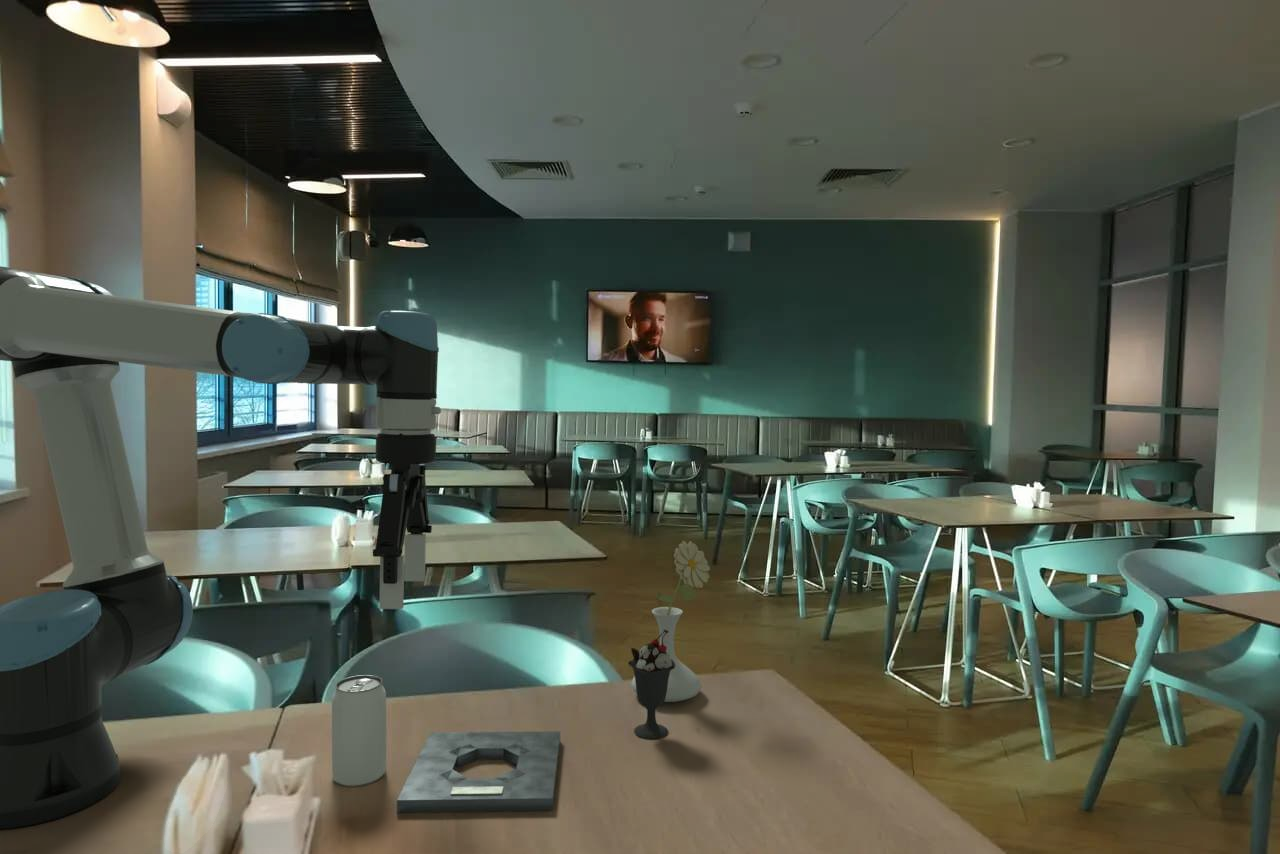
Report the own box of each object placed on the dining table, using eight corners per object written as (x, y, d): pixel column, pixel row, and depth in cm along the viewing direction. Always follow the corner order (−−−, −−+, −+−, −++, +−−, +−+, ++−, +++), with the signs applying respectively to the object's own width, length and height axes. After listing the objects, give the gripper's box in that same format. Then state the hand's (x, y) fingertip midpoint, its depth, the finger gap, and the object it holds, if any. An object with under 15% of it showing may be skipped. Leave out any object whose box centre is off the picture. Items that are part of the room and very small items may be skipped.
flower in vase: (651, 714, 120) (654, 552, 119) (619, 688, 130) (620, 538, 129) (723, 699, 126) (726, 545, 125) (686, 676, 136) (689, 533, 135)
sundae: (683, 734, 113) (685, 631, 112) (645, 746, 109) (646, 639, 109) (657, 718, 119) (658, 620, 118) (619, 728, 115) (620, 627, 114)
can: (394, 765, 103) (394, 674, 102) (372, 790, 97) (372, 694, 96) (347, 762, 104) (346, 672, 103) (322, 786, 97) (321, 691, 97)
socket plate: (396, 812, 91) (396, 798, 91) (430, 742, 109) (430, 731, 109) (552, 810, 92) (552, 796, 92) (560, 741, 110) (560, 729, 110)
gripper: (416, 439, 90) (413, 622, 91) (451, 427, 115) (448, 571, 116) (348, 437, 89) (346, 621, 90) (398, 426, 114) (396, 570, 115)
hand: (403, 593), depth 103 cm, fingers open, 13 cm apart
